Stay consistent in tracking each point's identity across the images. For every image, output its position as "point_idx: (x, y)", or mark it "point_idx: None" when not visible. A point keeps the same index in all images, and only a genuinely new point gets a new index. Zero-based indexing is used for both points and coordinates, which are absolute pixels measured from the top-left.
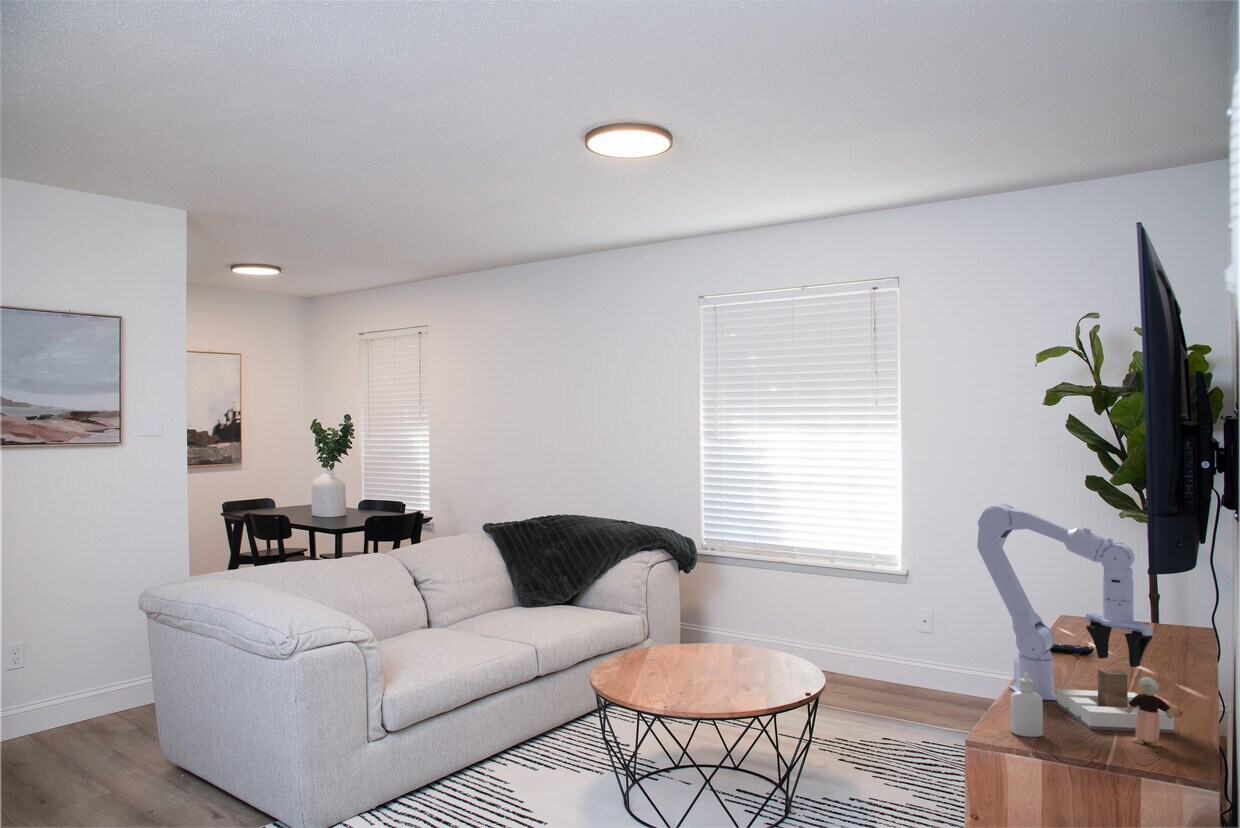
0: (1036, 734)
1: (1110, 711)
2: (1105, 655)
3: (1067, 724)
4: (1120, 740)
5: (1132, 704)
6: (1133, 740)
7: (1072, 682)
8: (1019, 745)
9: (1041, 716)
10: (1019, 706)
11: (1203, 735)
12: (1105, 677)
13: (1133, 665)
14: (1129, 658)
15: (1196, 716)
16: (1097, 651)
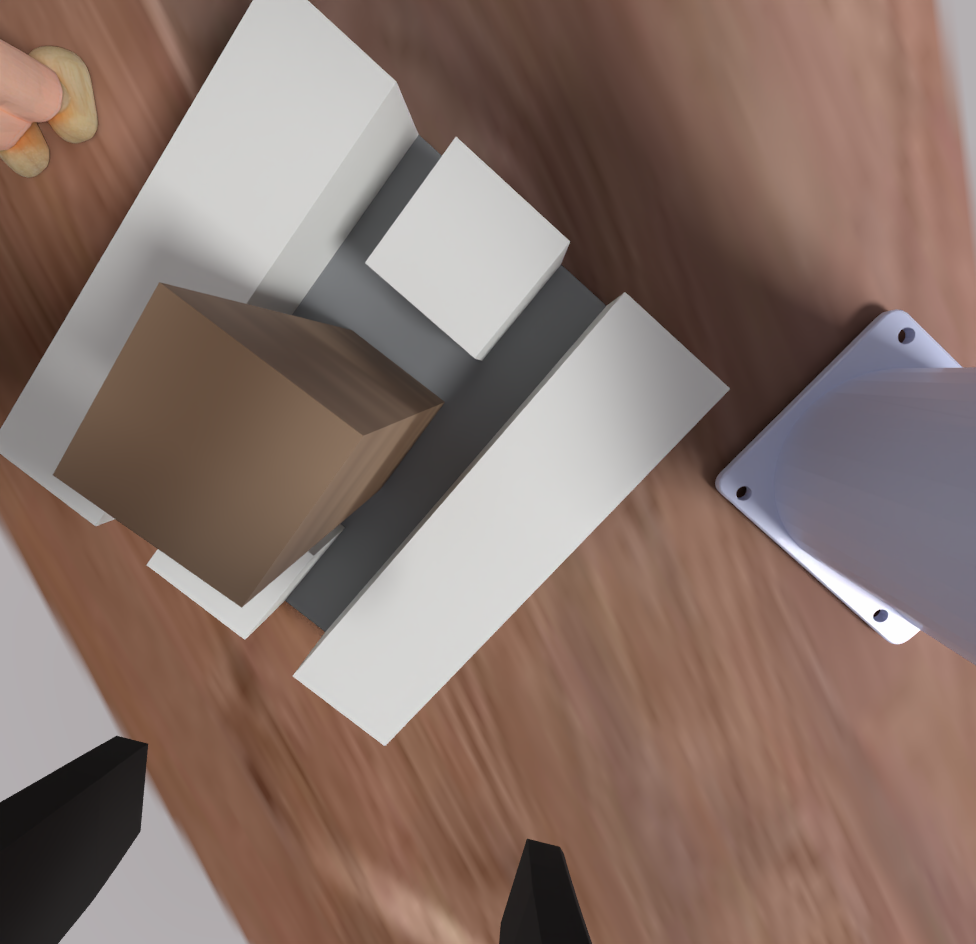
0: None
1: (207, 144)
2: (506, 932)
3: (453, 24)
4: (126, 14)
5: None
6: (71, 53)
7: (829, 888)
8: None
9: None
10: None
11: (18, 522)
12: (236, 321)
13: (93, 754)
14: (47, 813)
15: (199, 786)
16: (572, 925)
